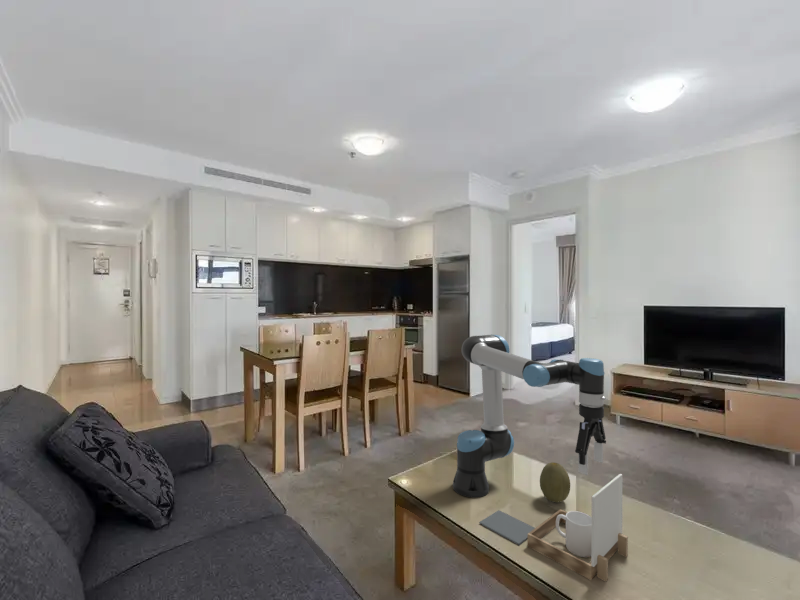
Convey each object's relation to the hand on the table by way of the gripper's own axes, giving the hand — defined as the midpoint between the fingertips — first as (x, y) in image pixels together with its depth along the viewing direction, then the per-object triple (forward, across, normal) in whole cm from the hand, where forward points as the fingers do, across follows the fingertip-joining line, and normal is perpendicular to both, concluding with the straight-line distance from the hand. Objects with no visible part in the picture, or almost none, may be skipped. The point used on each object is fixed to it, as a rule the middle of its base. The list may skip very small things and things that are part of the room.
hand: (591, 467), depth 129 cm
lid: (+24, -10, -10) cm, 27 cm away
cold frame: (+24, -9, +2) cm, 25 cm away
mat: (+24, -15, +22) cm, 36 cm away
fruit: (+24, +15, +19) cm, 34 cm away
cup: (+24, -9, +2) cm, 26 cm away
